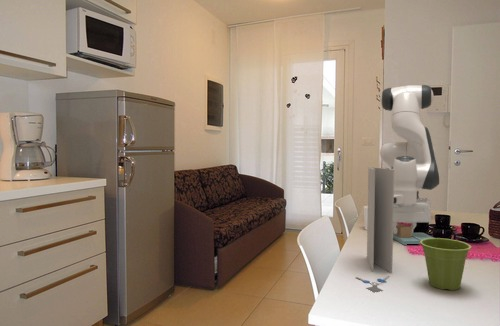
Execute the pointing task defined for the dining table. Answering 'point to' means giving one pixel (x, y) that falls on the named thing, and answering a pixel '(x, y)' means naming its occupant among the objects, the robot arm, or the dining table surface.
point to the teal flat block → (420, 236)
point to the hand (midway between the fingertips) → (403, 233)
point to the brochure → (380, 217)
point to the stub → (405, 235)
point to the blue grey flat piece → (374, 288)
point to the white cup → (366, 216)
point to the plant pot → (445, 261)
